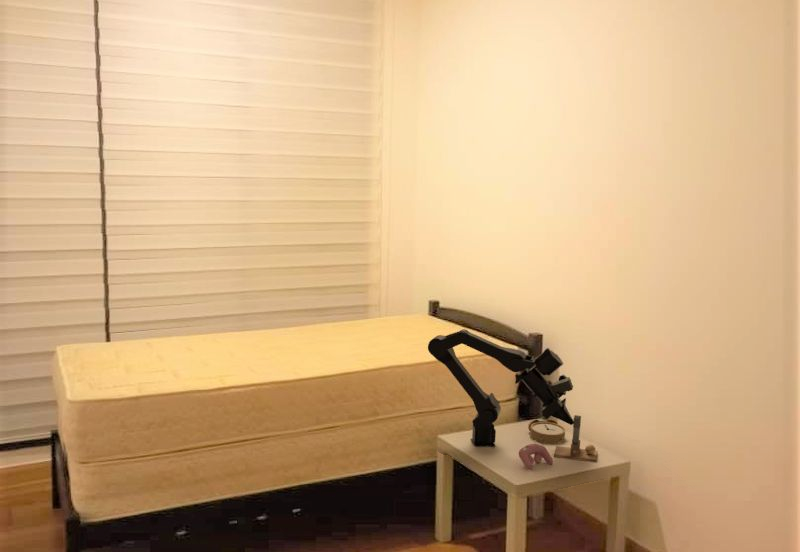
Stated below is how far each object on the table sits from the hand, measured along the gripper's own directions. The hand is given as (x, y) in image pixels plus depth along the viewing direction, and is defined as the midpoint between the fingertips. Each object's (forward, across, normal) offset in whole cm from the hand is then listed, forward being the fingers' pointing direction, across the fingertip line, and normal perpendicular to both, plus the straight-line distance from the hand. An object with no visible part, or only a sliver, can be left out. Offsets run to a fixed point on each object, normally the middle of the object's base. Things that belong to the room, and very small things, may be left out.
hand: (572, 423), depth 228 cm
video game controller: (0, -13, +14) cm, 19 cm away
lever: (+6, 0, +5) cm, 8 cm away
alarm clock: (+1, +15, +14) cm, 21 cm away
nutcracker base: (+8, 0, +6) cm, 10 cm away
